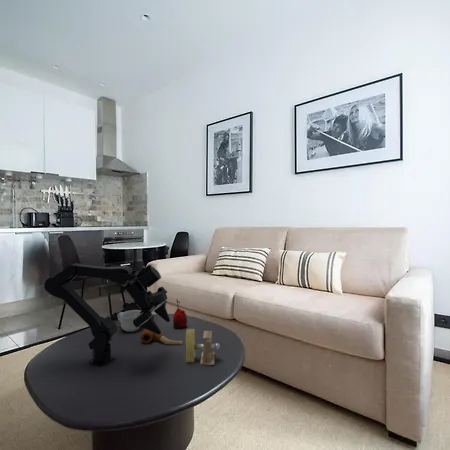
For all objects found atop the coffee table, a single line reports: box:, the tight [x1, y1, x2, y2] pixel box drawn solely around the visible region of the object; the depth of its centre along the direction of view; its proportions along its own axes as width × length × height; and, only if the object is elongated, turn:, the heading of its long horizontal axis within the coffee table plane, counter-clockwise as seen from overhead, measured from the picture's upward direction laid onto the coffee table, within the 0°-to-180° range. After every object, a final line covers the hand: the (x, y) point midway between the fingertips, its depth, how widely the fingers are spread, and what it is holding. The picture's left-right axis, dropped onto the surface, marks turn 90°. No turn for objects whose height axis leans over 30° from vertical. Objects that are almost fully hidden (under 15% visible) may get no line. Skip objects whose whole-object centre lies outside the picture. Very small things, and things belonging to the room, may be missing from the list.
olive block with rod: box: [185, 328, 221, 363], centre depth 105 cm, size 13×4×11 cm, turn 91°
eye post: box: [199, 330, 216, 366], centre depth 105 cm, size 5×9×10 cm, turn 1°
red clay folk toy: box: [172, 298, 188, 329], centre depth 139 cm, size 8×7×15 cm
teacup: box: [116, 309, 141, 333], centre depth 137 cm, size 14×11×8 cm
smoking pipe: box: [140, 329, 183, 346], centre depth 122 cm, size 7×18×6 cm, turn 83°
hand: (164, 327), depth 105 cm, fingers open, 9 cm apart
